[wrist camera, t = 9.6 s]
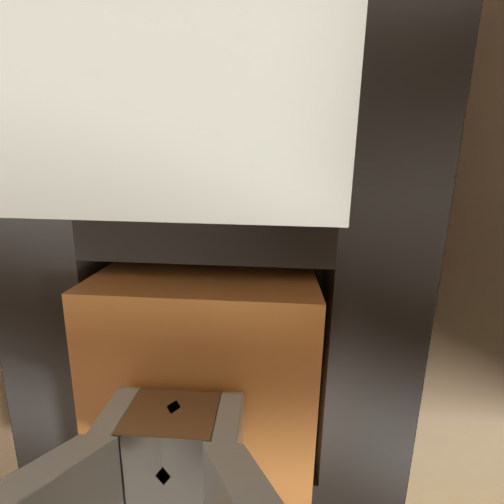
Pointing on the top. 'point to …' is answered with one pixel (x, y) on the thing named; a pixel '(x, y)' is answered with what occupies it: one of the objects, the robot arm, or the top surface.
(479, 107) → the top surface
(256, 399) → the key
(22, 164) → the key middle
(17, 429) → the dark grey tray
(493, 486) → the top surface
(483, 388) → the top surface
